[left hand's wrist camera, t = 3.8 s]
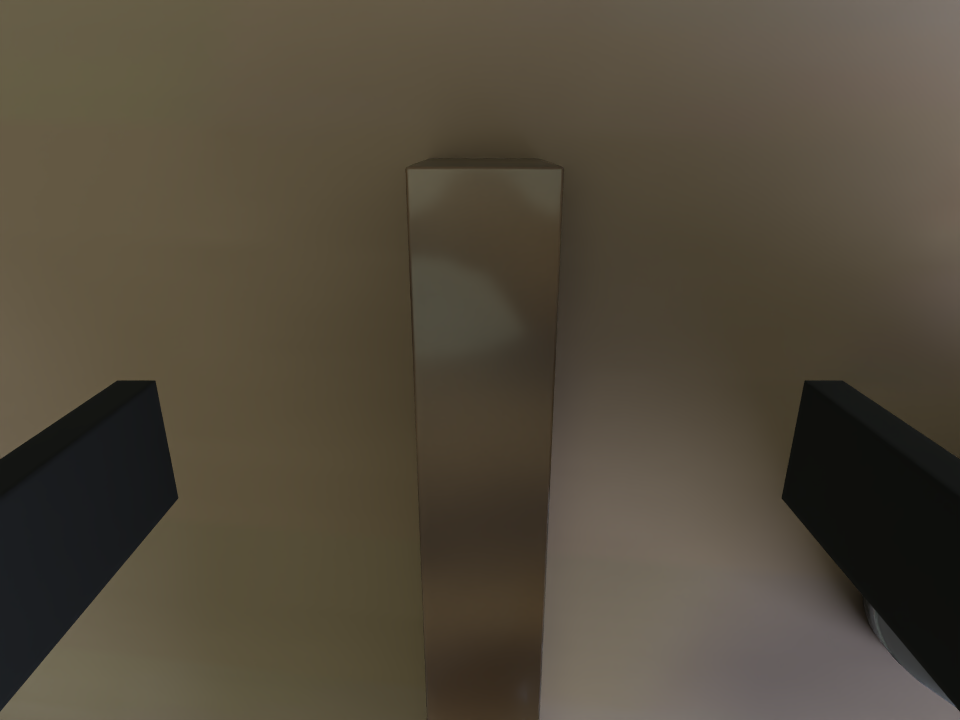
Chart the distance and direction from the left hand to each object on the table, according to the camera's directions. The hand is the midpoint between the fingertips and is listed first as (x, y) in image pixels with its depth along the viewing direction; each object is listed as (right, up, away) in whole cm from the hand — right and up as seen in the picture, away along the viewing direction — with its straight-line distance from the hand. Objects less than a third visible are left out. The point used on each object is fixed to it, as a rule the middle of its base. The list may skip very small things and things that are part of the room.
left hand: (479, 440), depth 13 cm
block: (0, -17, +24) cm, 30 cm away
